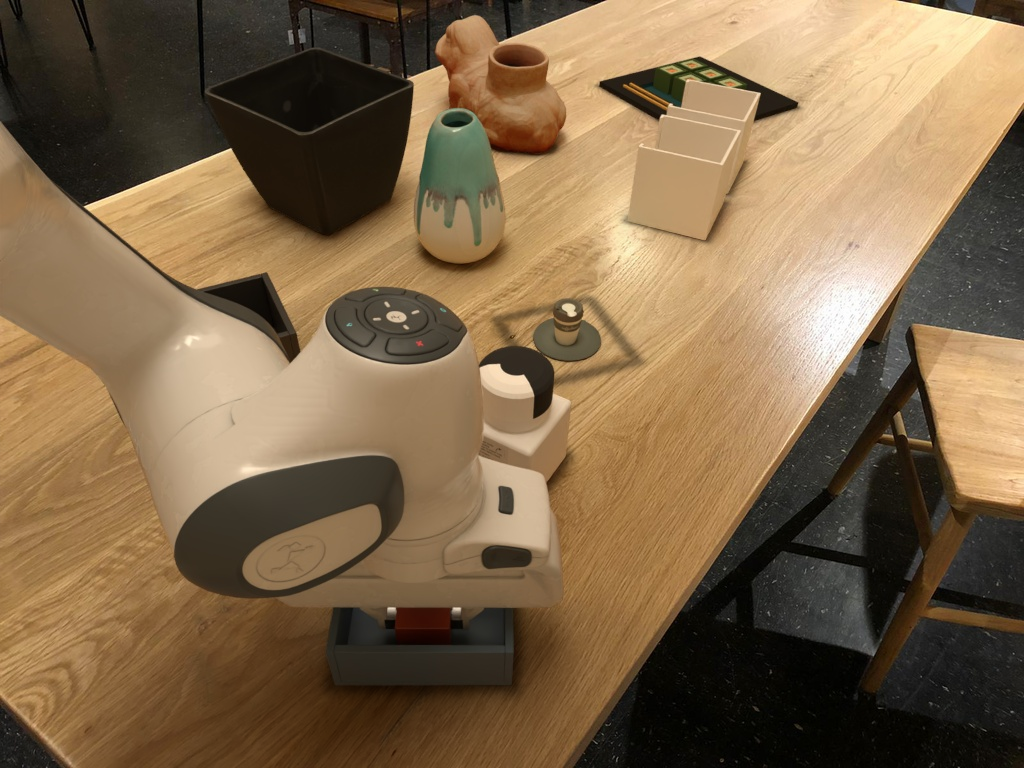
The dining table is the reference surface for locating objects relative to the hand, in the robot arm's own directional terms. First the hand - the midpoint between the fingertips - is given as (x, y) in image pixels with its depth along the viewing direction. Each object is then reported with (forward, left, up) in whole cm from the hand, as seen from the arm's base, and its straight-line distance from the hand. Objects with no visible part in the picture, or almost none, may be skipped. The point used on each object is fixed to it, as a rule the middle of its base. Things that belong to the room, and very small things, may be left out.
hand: (425, 621), depth 59 cm
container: (+14, +12, -2) cm, 19 cm away
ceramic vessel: (+46, +79, -2) cm, 92 cm away
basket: (-6, +37, -2) cm, 38 cm away
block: (0, 0, -2) cm, 2 cm away
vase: (+25, +48, -2) cm, 55 cm away
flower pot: (+13, +66, -2) cm, 68 cm away
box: (0, 0, -2) cm, 2 cm away
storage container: (+62, +48, -2) cm, 79 cm away
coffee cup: (+28, +26, -2) cm, 39 cm away
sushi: (+84, +75, -2) cm, 113 cm away
